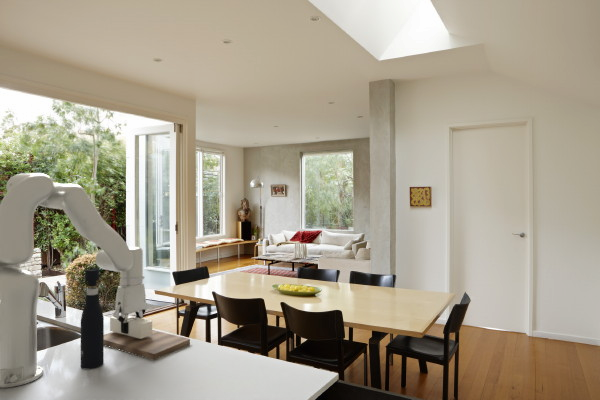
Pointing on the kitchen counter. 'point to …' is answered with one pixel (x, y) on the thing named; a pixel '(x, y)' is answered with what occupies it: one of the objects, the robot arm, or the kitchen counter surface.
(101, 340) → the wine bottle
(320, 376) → the kitchen counter surface
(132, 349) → the board
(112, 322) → the flange bar
